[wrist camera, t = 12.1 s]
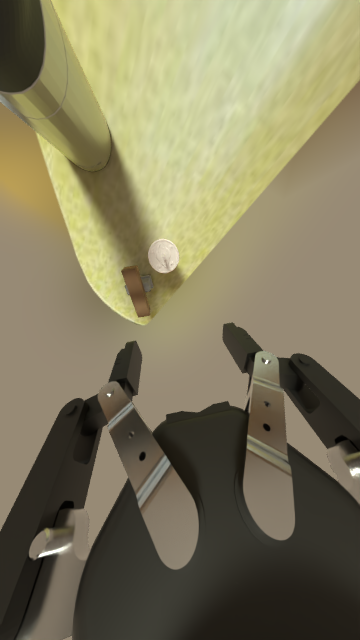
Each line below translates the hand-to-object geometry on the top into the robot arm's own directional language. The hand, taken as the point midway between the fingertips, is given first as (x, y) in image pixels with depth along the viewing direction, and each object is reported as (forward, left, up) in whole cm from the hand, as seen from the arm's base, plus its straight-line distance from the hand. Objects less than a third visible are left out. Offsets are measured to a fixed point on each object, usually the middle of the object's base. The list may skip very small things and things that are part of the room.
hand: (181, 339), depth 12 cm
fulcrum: (+3, -8, -30) cm, 31 cm away
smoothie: (-4, 0, -30) cm, 31 cm away
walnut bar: (+3, -8, -25) cm, 27 cm away
